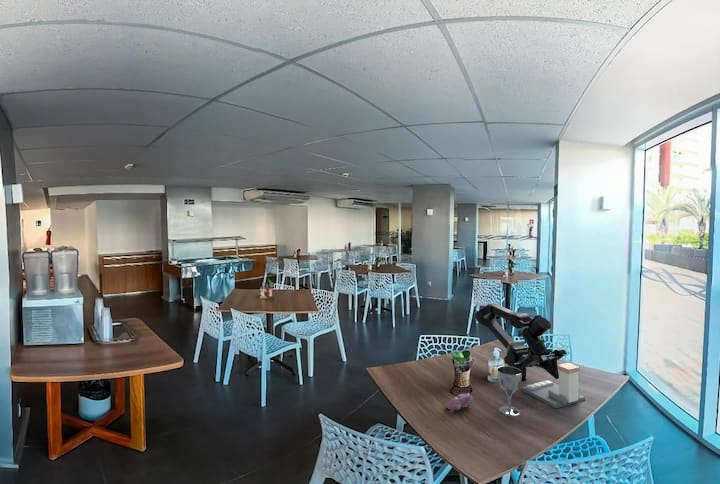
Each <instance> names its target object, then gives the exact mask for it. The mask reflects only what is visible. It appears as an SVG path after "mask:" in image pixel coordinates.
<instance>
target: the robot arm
mask: <svg viewBox="0 0 720 484" xmlns="http://www.w3.org/2000/svg"><path fill="white" fill-rule="evenodd" d="M496 316H498V317H500V318H501V319H504V320H506V321H507V322H509V324H510V326H511V327H513V328H515V329H521V330H518V334H517V337H518V338H523V340H524V341H525V343H526V345H527V346H526V345H525V344H524V342H523V341H515V340H514V339H513V337H511V336H510V335H509V333H508V332H507V331H506V330H505V329H504V328H503V327H502V326H501V325H500V324H499V323H498V322H497V319H496ZM474 317H475V321H476V322H477V323H479V325H481V326H484V327H486V328H488V330H489V331H490V333H492V334H493V335H494V337H495V338H497V340H498V341H499V342H500V343H501V344H502V346H503V347H504V348H505V350H506V355H505V356H504V357H503V360H504V363H505V364H506V365H507V366H511V367H515V368H518V369H520V370H521V381H527V368H532V367H537V368H541V369H543V370H545V371H546V372H547V373H548V374H550V375H551V376H552V377H553V379H555V380H559V370H558V361H559V360H560V359H563V358H564V357H565V356H567V355H568V353H567V351H566V350H565V349H564V348H562V347H561V348H557V349H554V350H552V349H551V348H550V349H548V347H547V346H546V344H545V343H546V340H545V339H542V338H541V336H543V335H544V334H545V333H547V332H548V331H549V330H550V329H551V327H552V324H551V322H550V321H549V320H548V319H547V318H545V317H543V316H542V315H541V314H536V315H534V316H533V317H531V315H530V314H529V313H526V312H525V313H524V312H520V311H513V310H511V309H508V308H506V307H504V306H503V305H500V304H498V303H496V302H495V303H487V304H486V305H485V306H484V307H482V308H481V309H479V310H477V311H476V313H475V314H474Z"/></svg>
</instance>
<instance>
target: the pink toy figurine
mask: <svg viewBox="0 0 720 484" xmlns="http://www.w3.org/2000/svg"><path fill="white" fill-rule="evenodd" d="M474 399H475V397H473V395H472V394H470V393H469V392H467V393H460V394H458V395H457V396H455V397H453V398H452V399H451V400H450V401H448V402H446V403H445V408H446V409H447V408H448V409H450V411H452V410H454V409H455V410H456V411H458V410H457V409H460V410H461V409H462V408H463V409H465V408H464V407H466V408H467V407H468V406H469V405H470V404H472V402H473V401H474ZM448 409H447V410H448Z"/></svg>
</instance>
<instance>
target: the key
mask: <svg viewBox="0 0 720 484" xmlns="http://www.w3.org/2000/svg"><path fill="white" fill-rule="evenodd" d="M557 366H558V373H559V379H558V385H559V395H561V396H563V397H566V402H568V403H570V402H573V401H577V400H578V394H579V372H580V366H578V365H575V364H573V363H571V362H565V363H561V364H557Z"/></svg>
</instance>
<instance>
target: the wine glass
mask: <svg viewBox="0 0 720 484" xmlns="http://www.w3.org/2000/svg"><path fill="white" fill-rule="evenodd" d="M496 372H497V380H498V383H499V386H500V388H501V389H503V391H504V392H505V394H506V396H507V401H508V405H503V406H500V407H499V408H498V411H499V412H500V413H501V412H502V413H503V414H502V413H501V414H502V415H504V414H505V415H504V416H507V415H508V416H507V417H519V416H520V415H521V411H520V410H519V409H518V408H516V407H514V406H511V405H512V397H513V394H514V393H515V392H517V391H518V390H519V389H520V386H521V383H522V380H521V370H520V369H518V368H515V367H511V366H508V365H502V366H498V367H497V371H496ZM518 415H519V416H518Z"/></svg>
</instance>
